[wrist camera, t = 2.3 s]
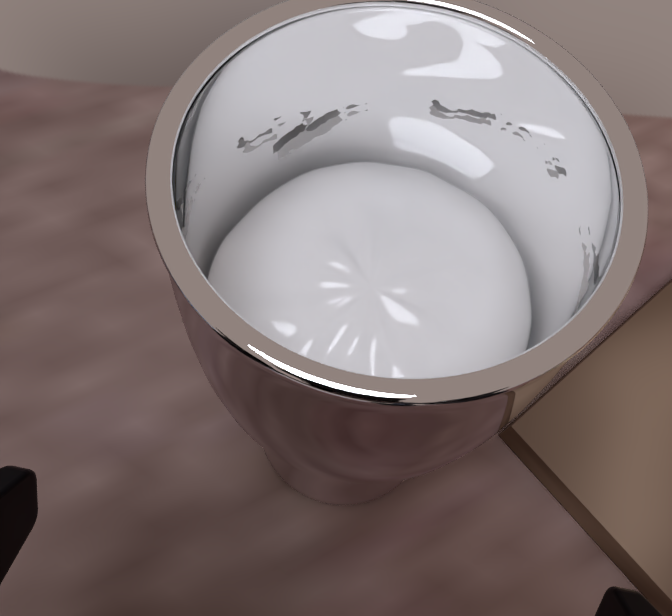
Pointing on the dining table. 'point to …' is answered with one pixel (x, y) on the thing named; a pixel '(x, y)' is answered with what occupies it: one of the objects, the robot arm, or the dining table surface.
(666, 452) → the walnut board
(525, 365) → the beer glass
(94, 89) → the dining table surface
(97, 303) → the dining table surface
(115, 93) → the dining table surface
